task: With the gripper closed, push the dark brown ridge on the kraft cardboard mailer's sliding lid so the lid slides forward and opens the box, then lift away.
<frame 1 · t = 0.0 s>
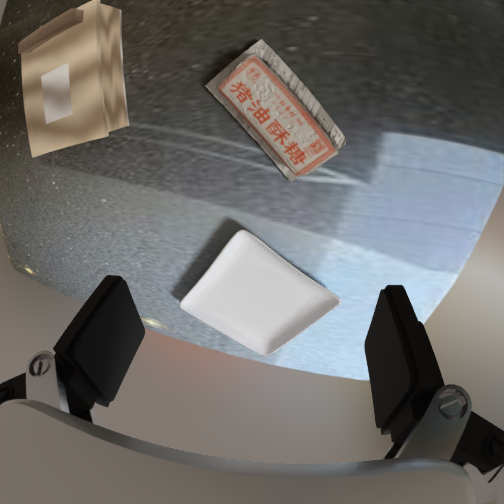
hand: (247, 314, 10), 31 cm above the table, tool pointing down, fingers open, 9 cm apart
packaged product: (277, 109, 34), on the table
salad plate: (258, 293, 51), on the table
lid: (51, 82, 25), point 8 cm above the table, slide at 0.0 cm
mailer box: (83, 78, 32), on the table
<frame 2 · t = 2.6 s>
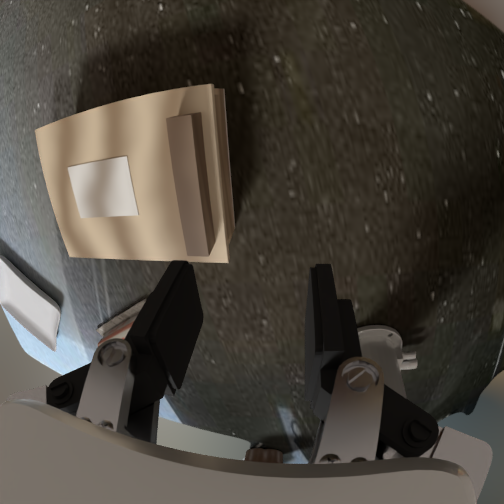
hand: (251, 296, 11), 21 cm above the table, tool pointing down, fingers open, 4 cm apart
packaged product: (138, 330, 48), on the table
salad plate: (32, 298, 50), on the table
lid: (111, 191, 24), point 8 cm above the table, slide at 0.0 cm
mailer box: (147, 167, 31), on the table
plant pot: (265, 451, 77), on the table
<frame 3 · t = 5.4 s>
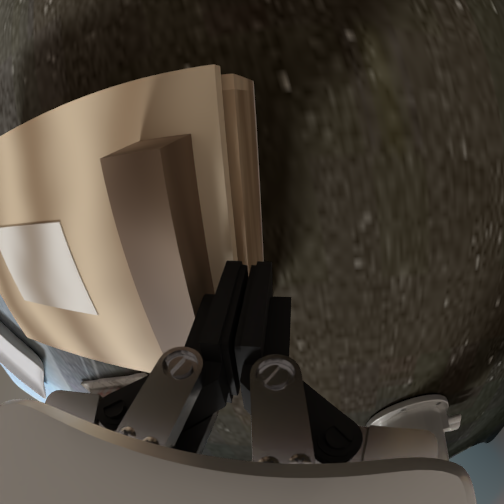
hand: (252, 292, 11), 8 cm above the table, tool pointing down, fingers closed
packaged product: (133, 393, 36), on the table
salad plate: (13, 344, 39), on the table
lid: (48, 279, 12), point 8 cm above the table, slide at 0.9 cm, touching gripper
mailer box: (123, 215, 19), on the table
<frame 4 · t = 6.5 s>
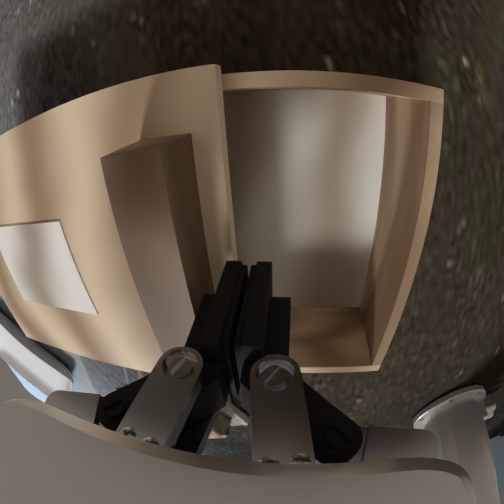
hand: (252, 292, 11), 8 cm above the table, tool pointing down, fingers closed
packaged product: (178, 402, 35), on the table
salad plate: (33, 352, 37), on the table
lid: (47, 278, 12), point 8 cm above the table, slide at 8.7 cm, touching gripper
mailer box: (226, 211, 18), on the table
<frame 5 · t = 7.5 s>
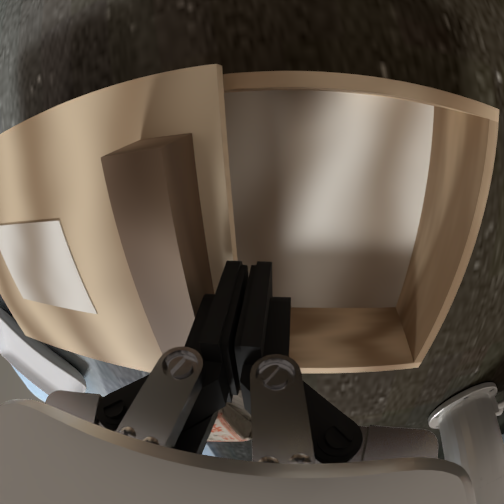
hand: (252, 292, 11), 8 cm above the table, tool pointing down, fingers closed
packaged product: (197, 404, 34), on the table
salad plate: (41, 355, 37), on the table
lid: (47, 277, 12), point 8 cm above the table, slide at 11.8 cm, touching gripper
mailer box: (276, 211, 17), on the table
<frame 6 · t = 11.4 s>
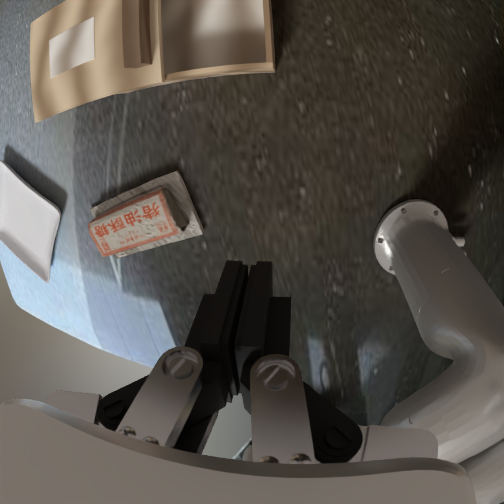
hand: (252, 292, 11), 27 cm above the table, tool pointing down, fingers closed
packaged product: (144, 216, 42), on the table
salad plate: (30, 217, 45), on the table
lid: (77, 42, 20), point 8 cm above the table, slide at 11.8 cm
mailer box: (191, 23, 25), on the table
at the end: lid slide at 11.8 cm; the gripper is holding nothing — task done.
